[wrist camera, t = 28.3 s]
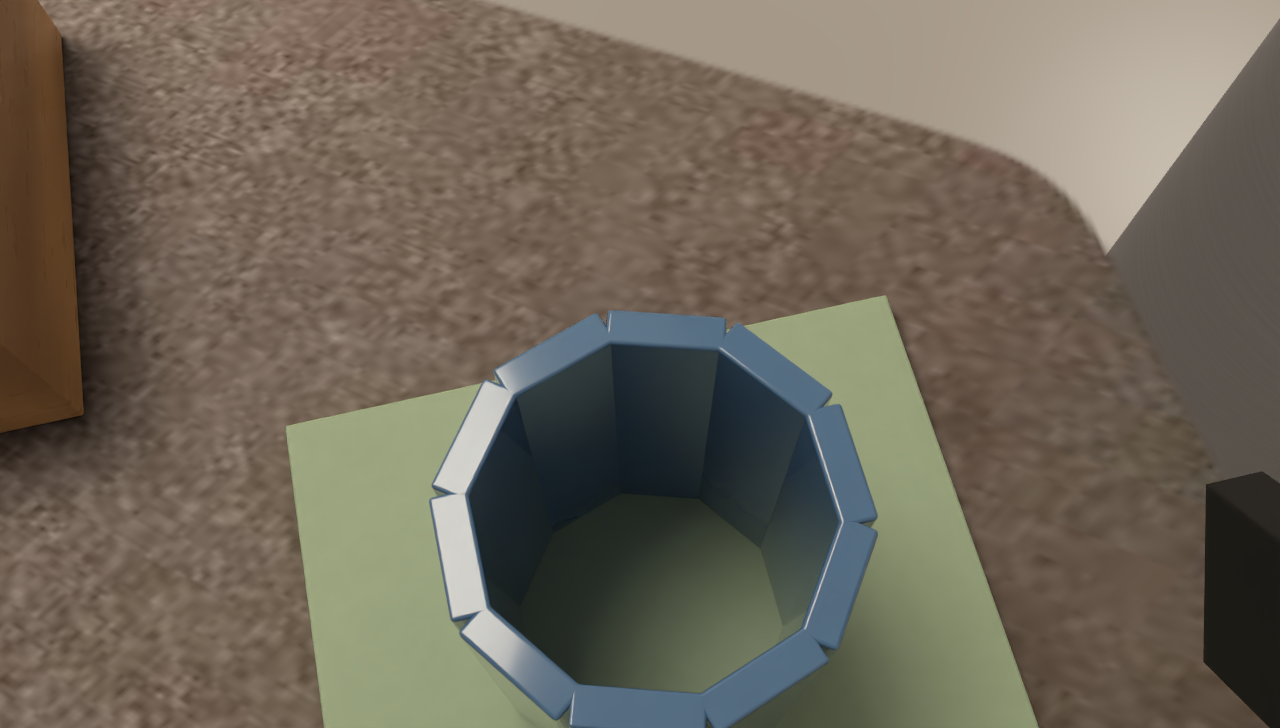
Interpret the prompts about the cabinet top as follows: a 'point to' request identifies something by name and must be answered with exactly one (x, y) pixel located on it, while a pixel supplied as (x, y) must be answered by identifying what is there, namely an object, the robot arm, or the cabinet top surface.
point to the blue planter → (658, 466)
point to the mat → (654, 569)
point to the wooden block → (35, 227)
